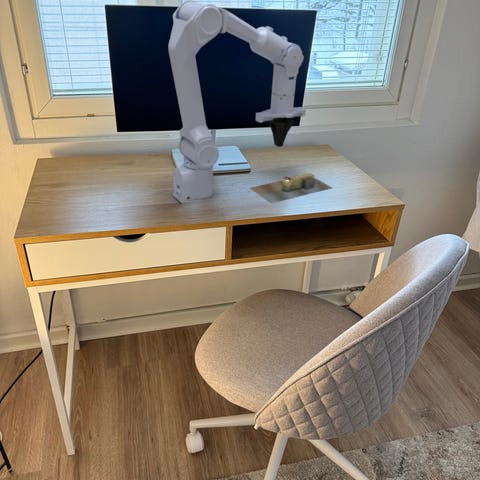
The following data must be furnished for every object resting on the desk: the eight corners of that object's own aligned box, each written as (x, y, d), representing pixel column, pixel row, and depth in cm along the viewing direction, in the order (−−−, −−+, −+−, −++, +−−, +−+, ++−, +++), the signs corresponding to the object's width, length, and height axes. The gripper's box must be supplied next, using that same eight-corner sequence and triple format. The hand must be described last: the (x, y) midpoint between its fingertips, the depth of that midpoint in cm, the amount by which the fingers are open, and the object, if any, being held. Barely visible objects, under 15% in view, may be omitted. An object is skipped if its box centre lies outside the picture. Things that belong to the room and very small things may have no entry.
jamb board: (271, 207, 114) (271, 203, 113) (249, 192, 121) (249, 187, 120) (332, 192, 123) (333, 187, 122) (308, 178, 130) (309, 174, 130)
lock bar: (285, 191, 118) (286, 180, 117) (279, 188, 120) (280, 176, 119) (314, 185, 123) (315, 174, 121) (308, 181, 124) (309, 171, 123)
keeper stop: (305, 189, 121) (306, 181, 119) (302, 188, 121) (303, 179, 120) (314, 187, 122) (315, 179, 121) (311, 186, 123) (312, 177, 122)
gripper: (268, 100, 110) (264, 154, 117) (315, 94, 117) (309, 146, 124) (252, 93, 115) (249, 145, 122) (298, 88, 122) (293, 138, 129)
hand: (278, 145), depth 123 cm, fingers closed
